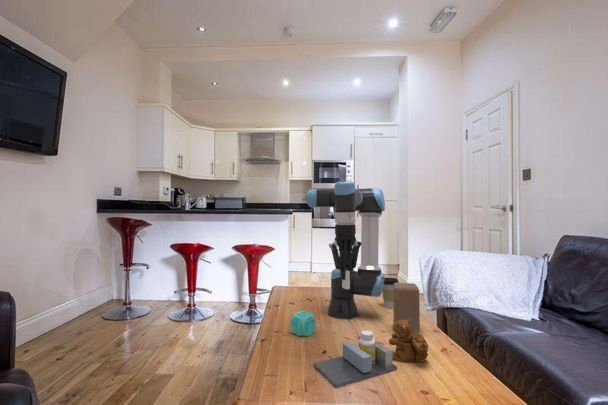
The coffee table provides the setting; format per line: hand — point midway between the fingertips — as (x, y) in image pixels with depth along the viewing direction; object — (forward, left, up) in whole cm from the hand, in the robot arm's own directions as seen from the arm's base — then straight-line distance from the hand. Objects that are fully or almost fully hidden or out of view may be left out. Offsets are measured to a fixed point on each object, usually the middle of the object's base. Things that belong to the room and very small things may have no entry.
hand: (345, 288), depth 110 cm
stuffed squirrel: (+11, +20, -25) cm, 34 cm away
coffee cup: (-37, +54, -25) cm, 70 cm away
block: (-8, +37, -25) cm, 45 cm away
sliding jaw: (+8, -1, -23) cm, 25 cm away
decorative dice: (-26, -5, -25) cm, 36 cm away
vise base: (+8, -2, -25) cm, 26 cm away
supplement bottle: (+8, +3, -24) cm, 25 cm away
